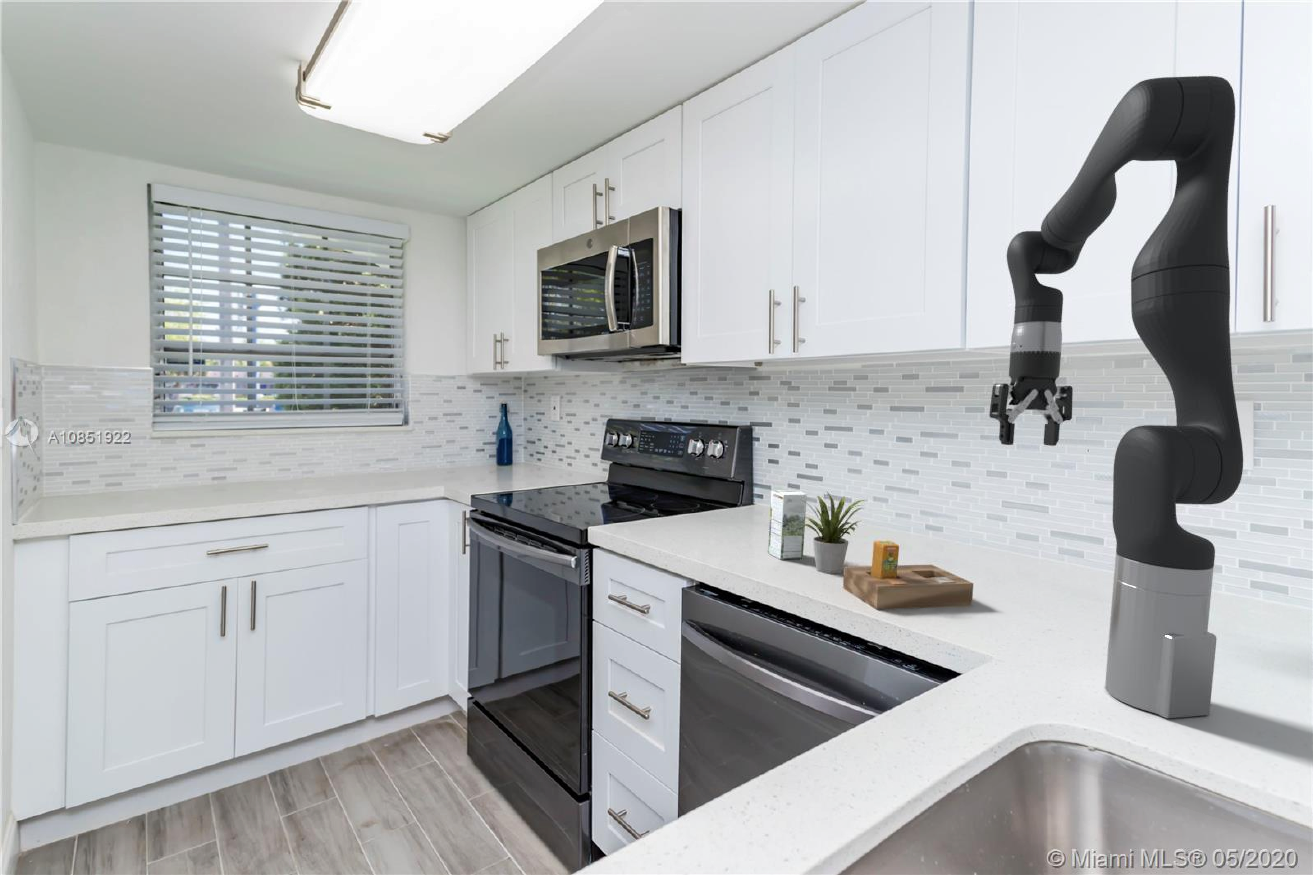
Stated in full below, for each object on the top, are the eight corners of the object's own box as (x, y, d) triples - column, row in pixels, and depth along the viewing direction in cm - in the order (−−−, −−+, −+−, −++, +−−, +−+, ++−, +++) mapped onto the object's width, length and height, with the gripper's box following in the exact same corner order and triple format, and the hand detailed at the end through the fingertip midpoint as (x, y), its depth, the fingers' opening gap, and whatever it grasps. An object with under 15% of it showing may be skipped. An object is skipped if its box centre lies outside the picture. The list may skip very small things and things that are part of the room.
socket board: (971, 605, 112) (973, 582, 112) (876, 609, 109) (878, 585, 108) (930, 585, 124) (931, 563, 123) (843, 587, 120) (844, 565, 120)
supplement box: (879, 601, 113) (882, 544, 112) (869, 594, 117) (872, 540, 116) (896, 600, 114) (899, 544, 113) (885, 594, 117) (888, 539, 117)
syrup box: (790, 552, 146) (793, 488, 145) (804, 559, 141) (807, 493, 139) (767, 553, 144) (770, 489, 143) (780, 560, 139) (783, 493, 138)
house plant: (886, 573, 131) (890, 493, 129) (845, 585, 122) (849, 499, 121) (827, 558, 142) (831, 484, 141) (786, 567, 133) (789, 489, 132)
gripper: (1014, 347, 105) (1008, 446, 107) (1089, 351, 108) (1082, 447, 109) (983, 350, 113) (977, 442, 114) (1054, 353, 115) (1047, 443, 117)
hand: (1028, 445), depth 112 cm, fingers open, 8 cm apart
